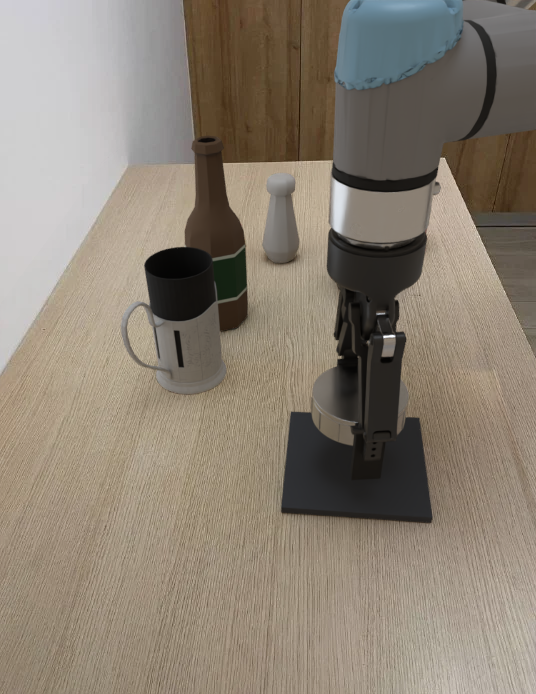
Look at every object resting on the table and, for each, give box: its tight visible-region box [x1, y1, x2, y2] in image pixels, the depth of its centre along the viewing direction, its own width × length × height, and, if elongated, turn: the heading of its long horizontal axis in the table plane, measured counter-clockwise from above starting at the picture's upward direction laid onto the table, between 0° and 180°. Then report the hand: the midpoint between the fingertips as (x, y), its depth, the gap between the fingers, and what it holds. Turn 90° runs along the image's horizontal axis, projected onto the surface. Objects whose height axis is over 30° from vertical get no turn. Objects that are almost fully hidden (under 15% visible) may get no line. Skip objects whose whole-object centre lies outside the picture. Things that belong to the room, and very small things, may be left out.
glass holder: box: [120, 246, 228, 395], centre depth 73 cm, size 9×14×15 cm, turn 146°
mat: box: [280, 411, 433, 524], centre depth 65 cm, size 14×14×1 cm
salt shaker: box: [261, 172, 300, 264], centre depth 97 cm, size 6×6×13 cm
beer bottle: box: [184, 135, 249, 332], centre depth 81 cm, size 8×8×24 cm
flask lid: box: [310, 363, 410, 446], centre depth 60 cm, size 9×9×3 cm
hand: (355, 441), depth 63 cm, fingers closed on flask lid, 9 cm apart
